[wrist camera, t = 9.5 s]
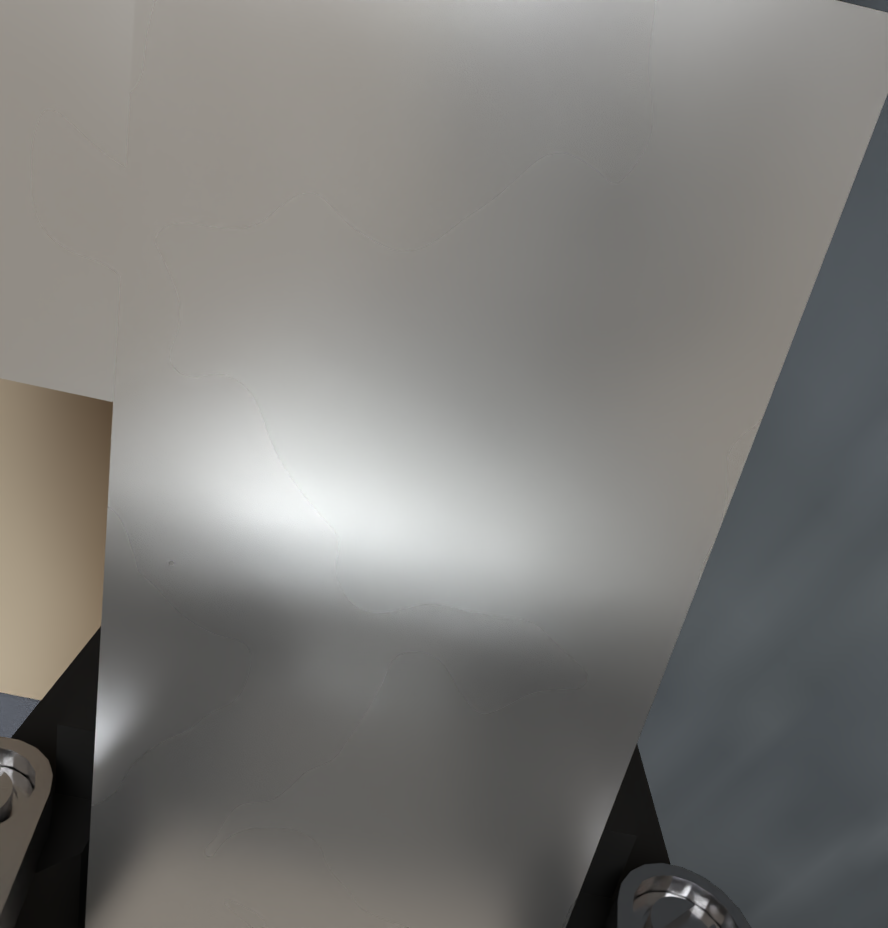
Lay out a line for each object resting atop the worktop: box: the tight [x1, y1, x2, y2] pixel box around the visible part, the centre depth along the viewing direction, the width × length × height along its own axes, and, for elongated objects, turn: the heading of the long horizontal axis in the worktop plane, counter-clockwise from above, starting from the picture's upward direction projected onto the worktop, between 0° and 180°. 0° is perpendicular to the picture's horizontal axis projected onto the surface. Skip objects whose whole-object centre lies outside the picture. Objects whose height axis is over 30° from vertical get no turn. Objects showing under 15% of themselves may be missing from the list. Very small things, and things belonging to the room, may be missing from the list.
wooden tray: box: [0, 378, 113, 700], centre depth 13 cm, size 16×18×1 cm
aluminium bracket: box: [0, 0, 888, 928], centre depth 8 cm, size 13×9×5 cm
